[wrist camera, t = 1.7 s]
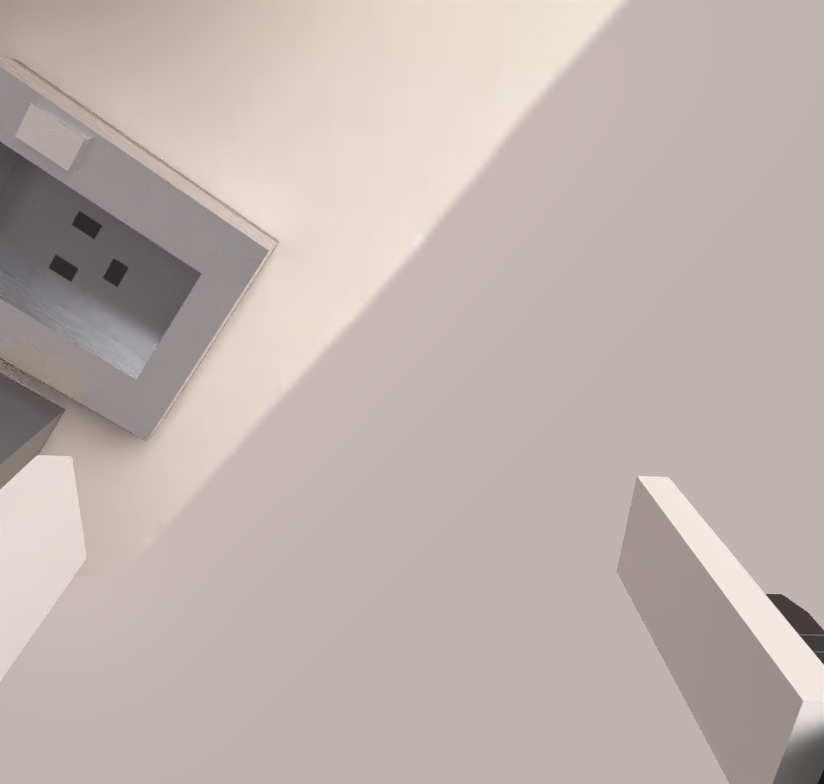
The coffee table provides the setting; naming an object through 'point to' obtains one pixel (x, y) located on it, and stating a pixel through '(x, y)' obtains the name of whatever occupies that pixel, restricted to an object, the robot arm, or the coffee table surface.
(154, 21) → the coffee table surface
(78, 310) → the socket plate
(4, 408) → the plug
